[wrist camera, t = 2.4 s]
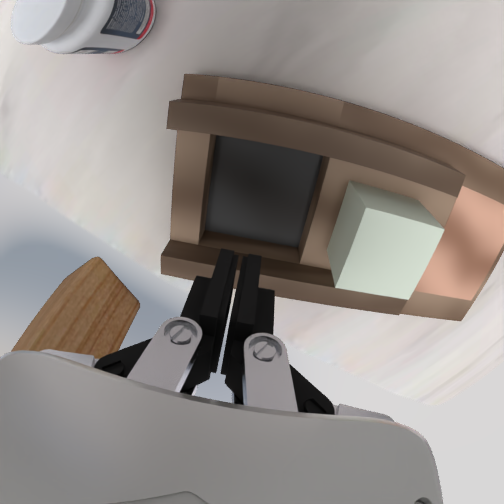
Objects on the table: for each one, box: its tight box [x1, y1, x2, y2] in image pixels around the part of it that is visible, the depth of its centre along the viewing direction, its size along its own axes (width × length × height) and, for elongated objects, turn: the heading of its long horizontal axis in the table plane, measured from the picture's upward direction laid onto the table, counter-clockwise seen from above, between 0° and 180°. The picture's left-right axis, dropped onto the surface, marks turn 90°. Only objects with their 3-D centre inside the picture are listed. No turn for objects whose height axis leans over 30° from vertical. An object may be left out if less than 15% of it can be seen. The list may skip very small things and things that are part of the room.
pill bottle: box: [11, 0, 156, 54], centre depth 11 cm, size 5×5×9 cm
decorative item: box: [11, 257, 140, 359], centre depth 19 cm, size 7×7×20 cm
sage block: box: [327, 180, 445, 300], centre depth 17 cm, size 5×5×4 cm
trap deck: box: [161, 74, 504, 321], centre depth 19 cm, size 14×26×4 cm, turn 80°
